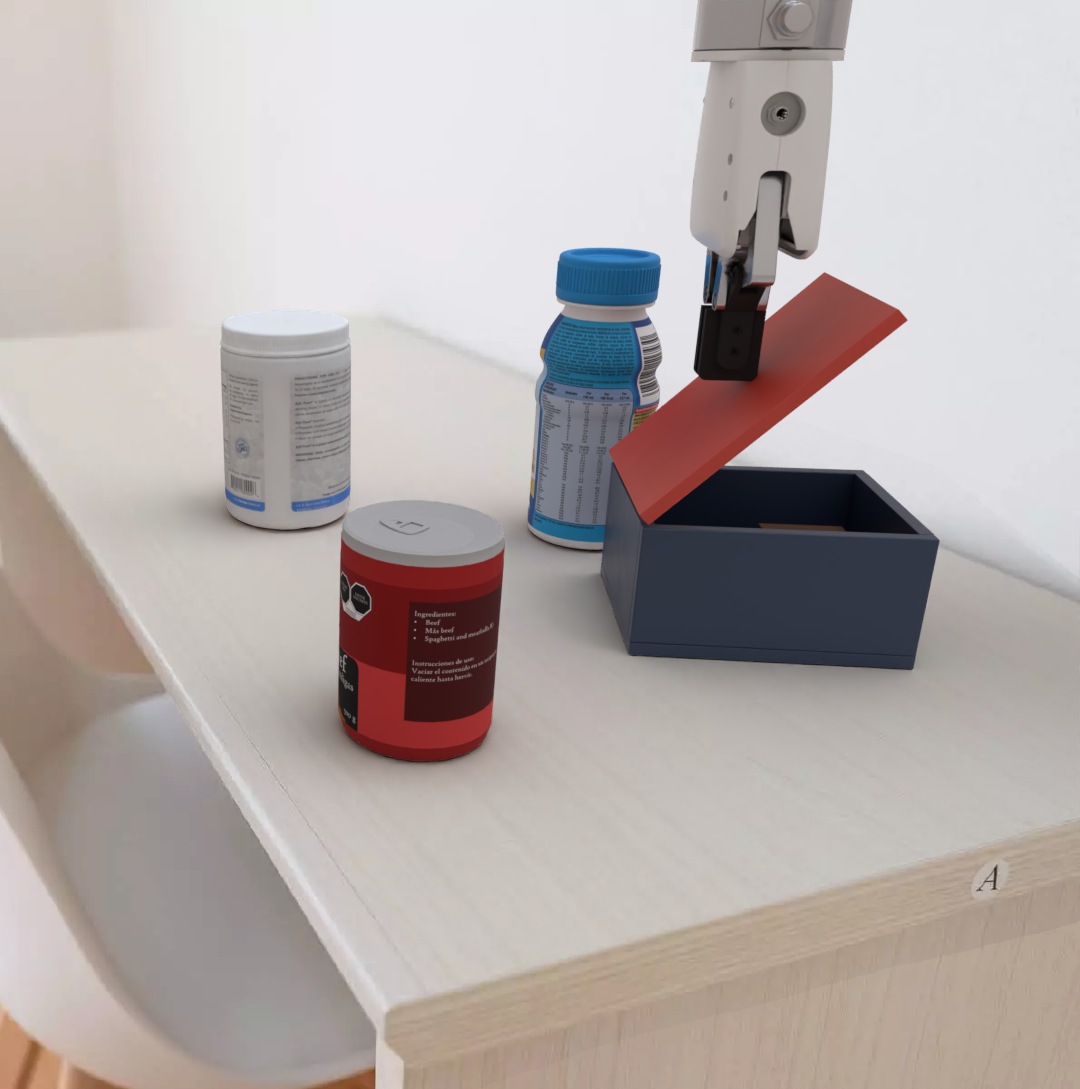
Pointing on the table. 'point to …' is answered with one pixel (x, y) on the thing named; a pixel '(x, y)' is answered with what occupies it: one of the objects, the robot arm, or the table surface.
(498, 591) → the canned food
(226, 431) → the supplement tub
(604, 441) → the beverage bottle
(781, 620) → the storage box
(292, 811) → the table surface
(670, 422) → the lid
